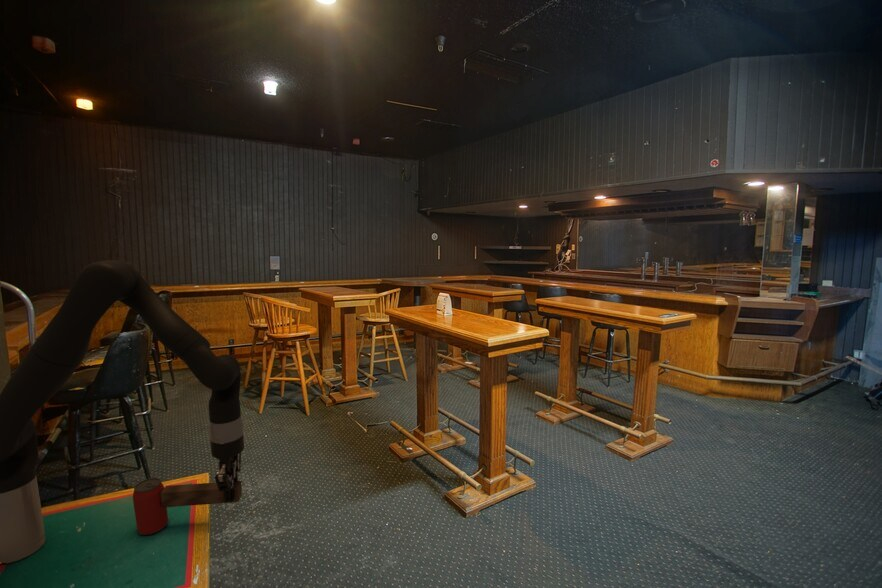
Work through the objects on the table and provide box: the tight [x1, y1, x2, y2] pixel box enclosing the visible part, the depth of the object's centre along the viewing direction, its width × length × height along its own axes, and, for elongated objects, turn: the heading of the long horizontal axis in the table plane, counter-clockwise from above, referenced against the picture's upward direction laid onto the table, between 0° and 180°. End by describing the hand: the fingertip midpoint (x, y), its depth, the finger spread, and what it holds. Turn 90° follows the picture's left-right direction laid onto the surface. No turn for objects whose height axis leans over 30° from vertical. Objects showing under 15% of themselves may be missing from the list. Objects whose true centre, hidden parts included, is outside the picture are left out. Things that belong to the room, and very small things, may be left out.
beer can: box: [132, 477, 169, 536], centre depth 108 cm, size 7×7×12 cm
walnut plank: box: [161, 480, 243, 508], centre depth 110 cm, size 18×3×4 cm, turn 100°
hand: (231, 496), depth 111 cm, fingers closed on walnut plank, 3 cm apart
